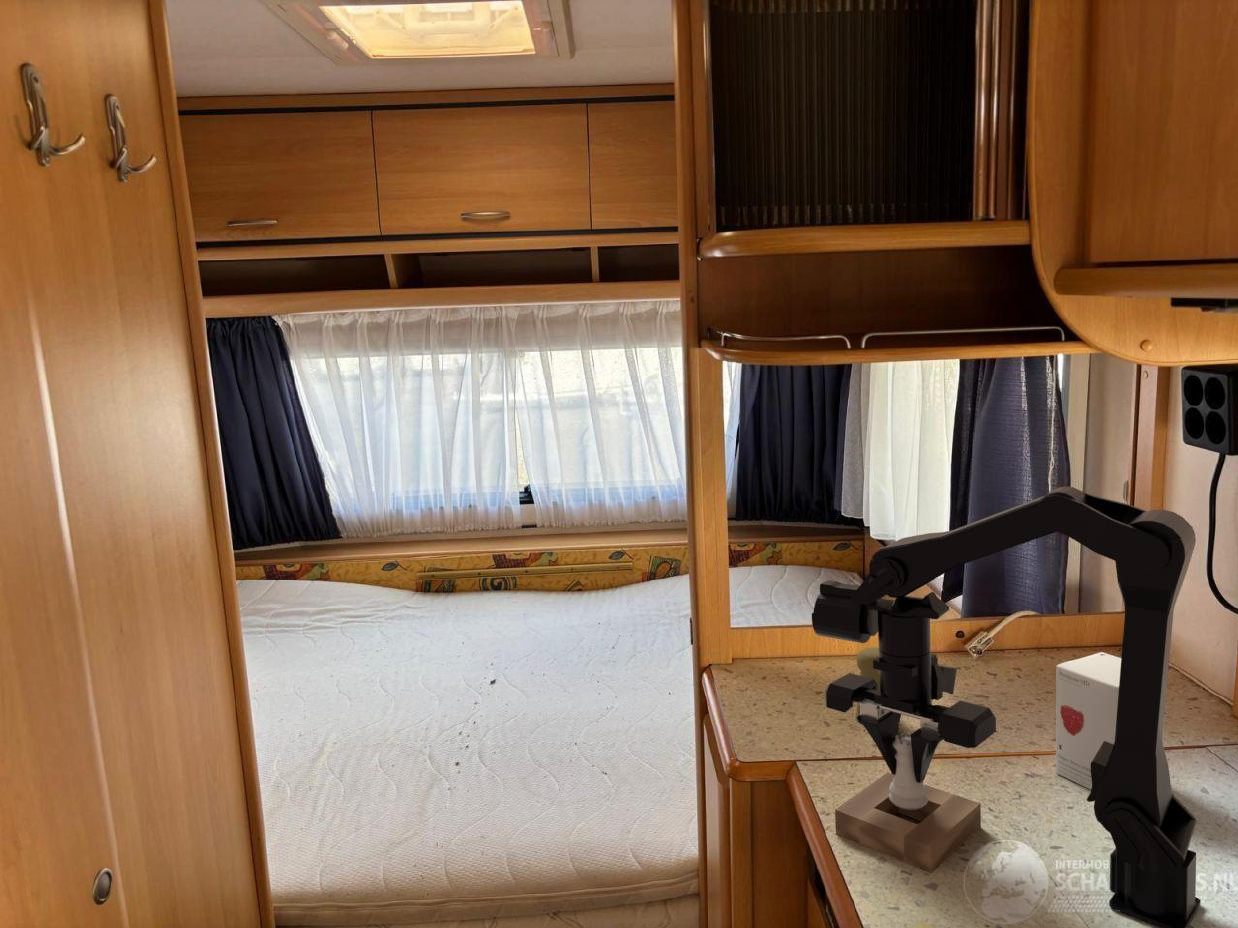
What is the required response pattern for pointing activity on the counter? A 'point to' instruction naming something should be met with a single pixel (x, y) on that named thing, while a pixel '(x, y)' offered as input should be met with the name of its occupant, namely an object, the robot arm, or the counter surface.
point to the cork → (868, 667)
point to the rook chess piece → (906, 778)
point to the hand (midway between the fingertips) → (908, 777)
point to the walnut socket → (909, 824)
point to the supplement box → (1085, 713)
